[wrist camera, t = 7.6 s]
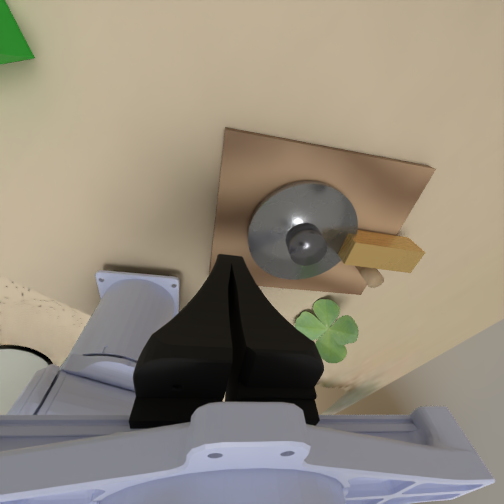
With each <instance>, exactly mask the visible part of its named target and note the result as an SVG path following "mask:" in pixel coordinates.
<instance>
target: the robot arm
mask: <svg viewBox="0 0 504 504" xmlns="http://www.w3.org/2000/svg"><path fill="white" fill-rule="evenodd" d="M95 276H96V281H97V285H98V289H99V294H100V298H101V301H100V303H99V304H98V306H97V308H96V309H95V311H94V313H93V314H92V316H91V318H90V319H89V321H88V323H87V325H86V326H85V328H84V330H83V331H82V333H81V335H80V336H79V338H78V340H77V342H76V343H75V345H74V347H73V348H72V350H71V352H70V353H69V355H68V357H67V358H66V360H65V362H64V363H63V364H62V365H61V367H60V368H59V366H56V365H54V364H51V365H49V366H48V367H47V368H43V369H41V370H38V371H37V372H36V373H35V374H34V376H33V377H32V378H31V380H30V381H29V383H28V384H27V386H26V387H25V388H24V390H23V391H22V393H21V394H20V396H19V397H18V399H17V400H16V401H15V403H14V404H13V406H12V407H11V409H10V410H9V412H8V413H7V415H0V504H410V503H419V502H429V501H441V500H452V499H454V498H457V497H459V496H462V495H464V494H467V493H469V492H472V491H474V490H477V489H480V488H482V487H485V486H487V485H490V484H492V483H494V482H495V479H494V477H493V476H492V474H491V473H490V472H489V470H488V468H487V467H486V465H485V464H484V462H483V461H482V459H481V458H480V456H479V455H478V453H477V452H476V450H475V449H474V448H473V446H472V444H471V443H470V441H469V440H468V438H467V437H466V435H465V434H464V432H463V431H462V429H461V428H460V426H459V425H458V423H457V422H456V420H455V419H454V417H453V416H452V414H451V412H450V411H449V409H448V408H447V407H446V406H421V407H418V408H416V409H415V410H414V411H412V412H411V414H410V415H318V411H317V408H316V403H315V400H314V399H316V392H315V388H314V387H315V385H316V383H317V382H318V380H319V379H320V377H321V376H322V374H323V371H324V365H323V362H322V359H321V356H320V354H319V351H318V349H317V347H316V345H315V342H314V341H312V340H311V339H309V338H308V337H307V336H305V335H304V334H303V333H301V332H300V331H299V330H297V329H296V328H295V327H294V326H293V325H291V324H290V323H289V322H288V321H287V320H286V319H285V318H284V317H283V316H282V315H281V314H280V313H279V312H278V311H277V310H276V309H275V308H274V307H273V306H272V305H271V303H270V302H269V301H268V300H267V298H266V297H265V296H264V294H263V293H262V291H261V290H260V288H259V287H258V285H257V284H256V282H255V280H254V279H253V277H252V275H251V273H250V271H249V269H248V267H247V265H246V263H245V261H244V258H243V257H242V256H235V255H226V254H219V255H217V259H216V262H215V265H214V267H213V269H212V271H211V273H210V275H209V276H208V278H207V280H206V281H205V283H204V284H203V286H202V287H201V289H200V290H199V291H198V293H197V294H196V295H195V296H194V297H193V299H192V300H191V301H190V302H189V303H188V304H187V305H186V306H185V307H184V308H183V309H182V310H181V311H180V312H179V278H177V277H173V276H162V275H151V274H139V273H128V272H117V271H105V270H99V271H97V272H96V274H95ZM101 278H103V279H101ZM173 284H175V285H173ZM225 391H226V394H225ZM224 395H225V402H222V400H223V398H224Z"/></svg>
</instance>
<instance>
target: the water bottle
mask: <svg viewBox="0 0 504 504" xmlns="http://www.w3.org/2000/svg"><path fill="white" fill-rule="evenodd" d="M51 364H53V362H52V361H51V360H50V359H49V358H48V357H47V356H46V355H44V354H43V353H41V352H39V351H37V350H34V349H31V348H28V347H24V346H18V345H0V415H7V413H8V412H9V410H10V409H11V407H12V406H13V404H14V403H15V401H16V400H17V399H18V397H19V396H20V394H21V393H22V391H23V390H24V388H25V387H26V386H27V384H28V383H29V381H30V380H31V378H32V377H33V376H34V374H35V373H36V372H37V371H38V370H41V369H43V368H47V367H48V366H49V365H51Z"/></svg>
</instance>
